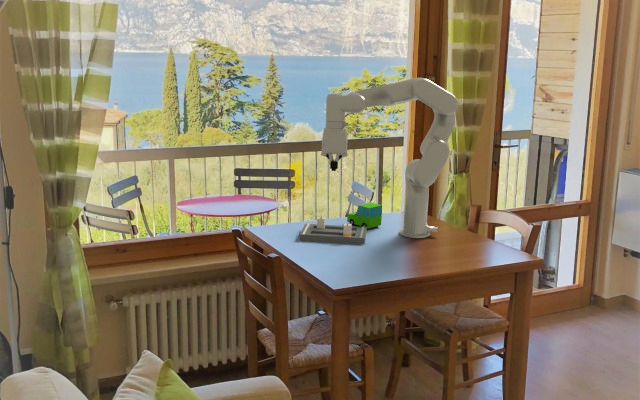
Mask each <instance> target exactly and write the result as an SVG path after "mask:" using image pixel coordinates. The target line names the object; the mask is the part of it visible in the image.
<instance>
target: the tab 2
mask: <svg viewBox="0 0 640 400" xmlns="http://www.w3.org/2000/svg"><path fill="white" fill-rule="evenodd" d="M343 226H344V230H343V235H351V230H352V224H350V222H347V223H343Z"/></svg>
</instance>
